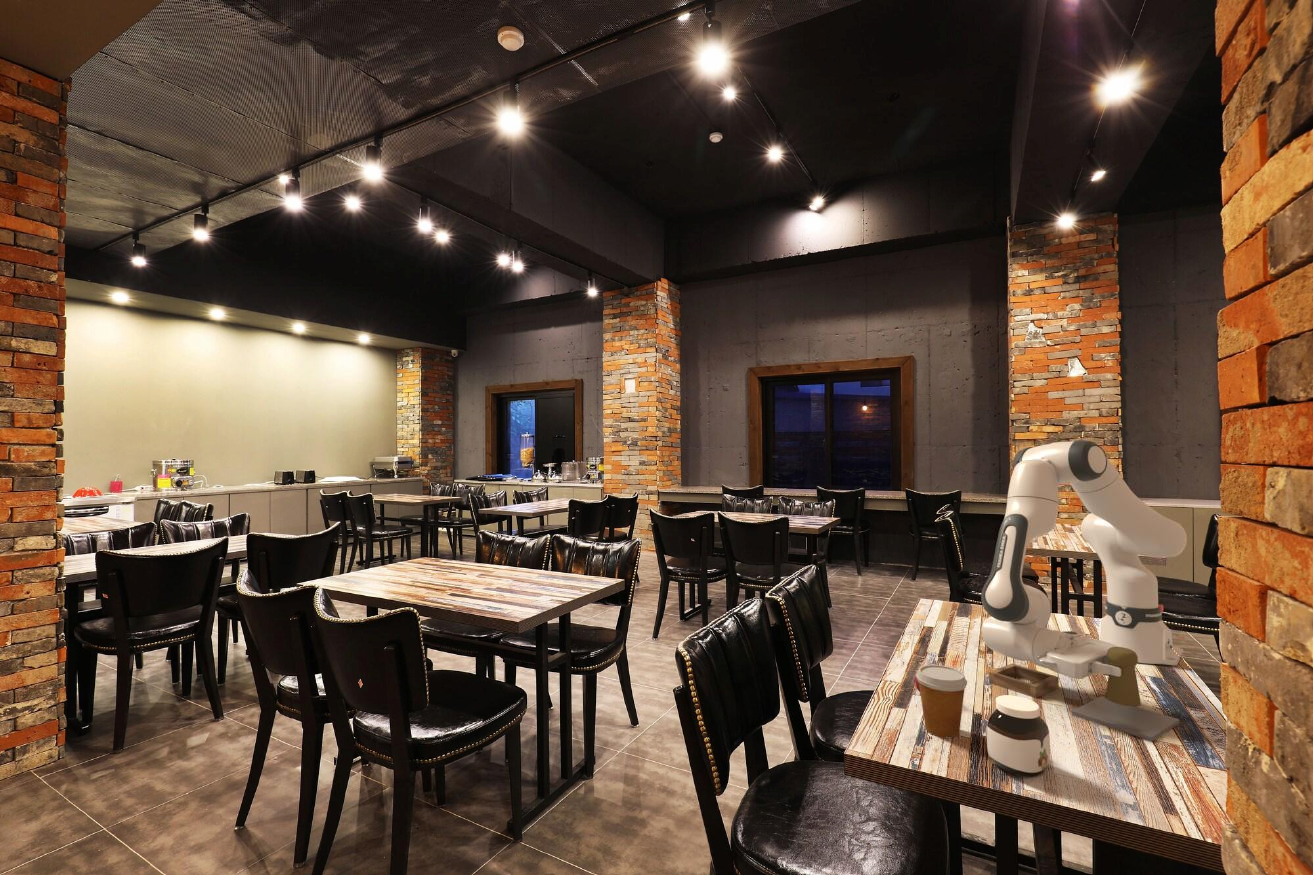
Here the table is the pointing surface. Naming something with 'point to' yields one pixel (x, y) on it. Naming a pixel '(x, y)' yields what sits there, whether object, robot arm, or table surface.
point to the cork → (1123, 678)
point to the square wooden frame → (1035, 690)
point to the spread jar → (1018, 737)
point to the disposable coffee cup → (941, 699)
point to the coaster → (1126, 718)
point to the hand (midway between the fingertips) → (1127, 669)
